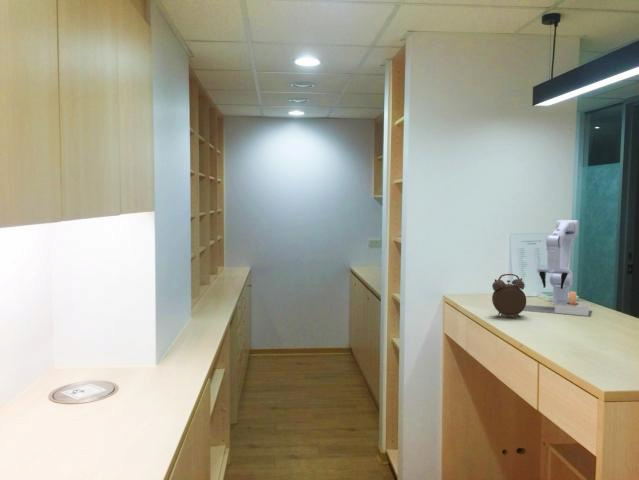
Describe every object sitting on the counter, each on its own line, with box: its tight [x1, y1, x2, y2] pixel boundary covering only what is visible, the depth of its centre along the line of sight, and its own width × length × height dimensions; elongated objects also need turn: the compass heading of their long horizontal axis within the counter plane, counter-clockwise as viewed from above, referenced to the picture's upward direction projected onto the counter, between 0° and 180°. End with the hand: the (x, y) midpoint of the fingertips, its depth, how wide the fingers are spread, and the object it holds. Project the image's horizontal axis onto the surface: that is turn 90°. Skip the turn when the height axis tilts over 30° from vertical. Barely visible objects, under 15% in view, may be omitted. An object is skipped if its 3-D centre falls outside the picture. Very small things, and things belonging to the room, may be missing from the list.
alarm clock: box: [491, 273, 527, 318], centre depth 242 cm, size 15×7×20 cm, turn 84°
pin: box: [568, 290, 577, 305], centre depth 248 cm, size 3×3×10 cm
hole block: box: [554, 300, 591, 317], centre depth 248 cm, size 12×14×4 cm
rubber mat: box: [522, 304, 593, 318], centre depth 252 cm, size 14×30×1 cm, turn 60°
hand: (553, 288), depth 256 cm, fingers open, 7 cm apart
